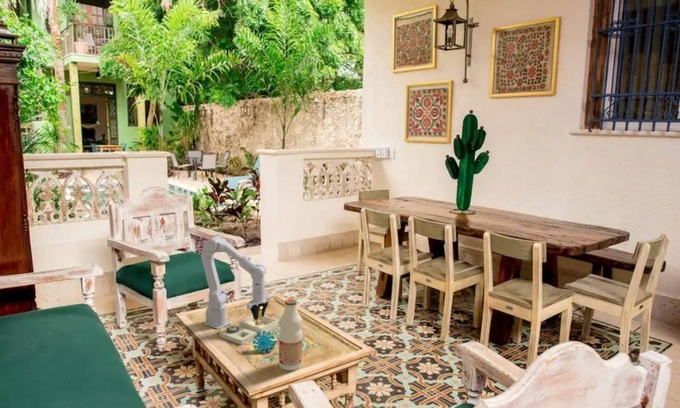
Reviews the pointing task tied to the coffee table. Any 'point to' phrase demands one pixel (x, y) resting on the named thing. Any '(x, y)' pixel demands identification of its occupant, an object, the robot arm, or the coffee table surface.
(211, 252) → the robot arm
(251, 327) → the tray
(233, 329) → the block
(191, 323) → the coffee table surface
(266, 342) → the gear
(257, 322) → the pin
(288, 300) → the fruit juice
